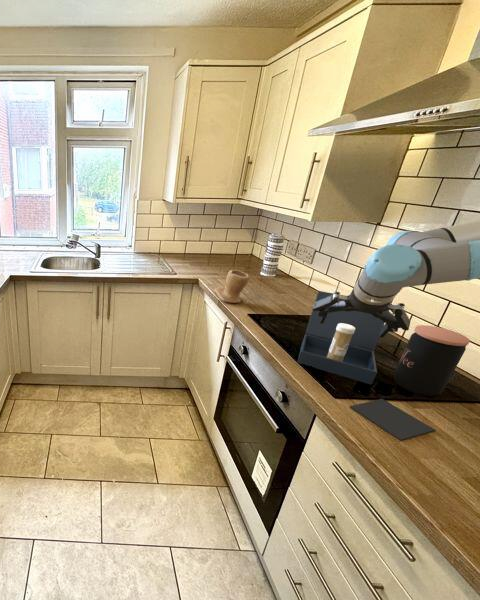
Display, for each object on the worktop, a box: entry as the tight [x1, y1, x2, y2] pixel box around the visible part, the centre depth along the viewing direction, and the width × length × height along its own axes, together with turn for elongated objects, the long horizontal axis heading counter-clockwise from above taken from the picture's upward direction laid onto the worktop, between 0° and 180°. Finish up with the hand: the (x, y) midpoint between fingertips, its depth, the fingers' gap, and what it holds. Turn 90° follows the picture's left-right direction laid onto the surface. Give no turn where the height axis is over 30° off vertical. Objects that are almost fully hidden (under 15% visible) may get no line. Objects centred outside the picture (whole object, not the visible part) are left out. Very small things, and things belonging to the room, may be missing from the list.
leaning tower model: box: [260, 233, 286, 277], centre depth 193 cm, size 9×9×25 cm
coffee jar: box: [392, 324, 471, 397], centre depth 92 cm, size 11×11×18 cm
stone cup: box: [214, 269, 250, 304], centre depth 156 cm, size 15×12×15 cm
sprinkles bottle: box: [327, 323, 355, 362], centre depth 104 cm, size 5×5×14 cm
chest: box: [297, 333, 378, 386], centre depth 106 cm, size 15×19×5 cm
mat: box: [349, 398, 436, 442], centre depth 82 cm, size 12×12×1 cm
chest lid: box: [305, 290, 393, 351], centre depth 108 cm, size 16×19×1 cm
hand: (351, 326), depth 92 cm, fingers open, 13 cm apart
